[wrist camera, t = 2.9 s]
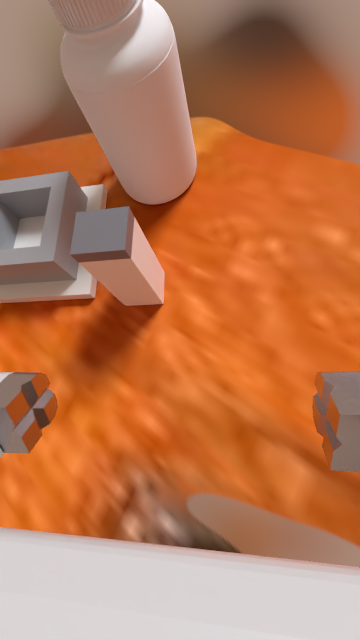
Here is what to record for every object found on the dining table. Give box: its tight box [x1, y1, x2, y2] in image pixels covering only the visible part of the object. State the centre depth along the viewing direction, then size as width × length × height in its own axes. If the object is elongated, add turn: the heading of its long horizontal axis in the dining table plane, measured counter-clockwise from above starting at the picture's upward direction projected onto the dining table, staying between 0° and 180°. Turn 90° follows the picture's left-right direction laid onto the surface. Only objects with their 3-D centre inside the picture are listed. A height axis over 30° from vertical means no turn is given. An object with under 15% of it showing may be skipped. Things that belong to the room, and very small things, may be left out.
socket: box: [0, 171, 108, 303], centre depth 27 cm, size 12×12×4 cm
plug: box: [70, 206, 165, 306], centre depth 21 cm, size 4×3×9 cm
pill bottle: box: [48, 0, 197, 205], centre depth 22 cm, size 8×8×15 cm
